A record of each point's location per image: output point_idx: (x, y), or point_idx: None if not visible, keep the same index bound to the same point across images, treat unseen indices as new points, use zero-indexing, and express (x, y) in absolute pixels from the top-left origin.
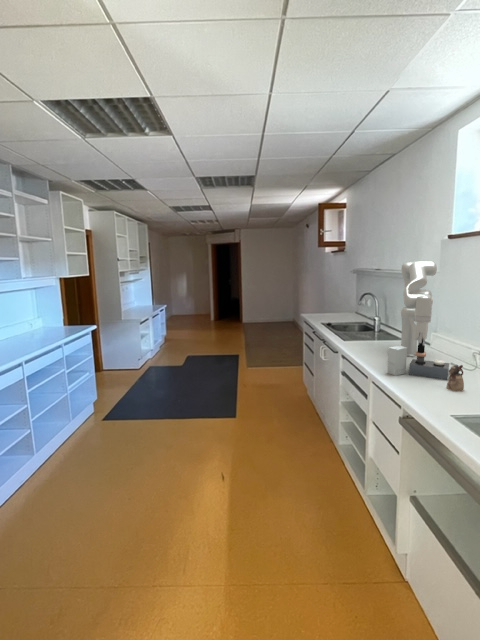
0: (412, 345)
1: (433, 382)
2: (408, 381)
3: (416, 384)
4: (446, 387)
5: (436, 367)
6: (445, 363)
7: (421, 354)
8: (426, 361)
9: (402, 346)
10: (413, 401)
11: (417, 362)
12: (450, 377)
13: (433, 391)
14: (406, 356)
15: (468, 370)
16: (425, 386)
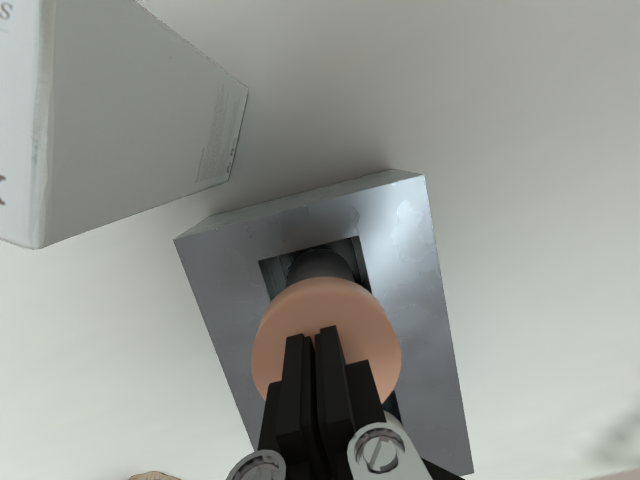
0: None
1: (176, 397)
2: (54, 279)
3: (41, 342)
4: (134, 478)
5: (255, 451)
6: (443, 455)
7: (262, 389)
8: (409, 321)
9: (22, 104)
10: None
11: (287, 281)
12: None
13: (8, 453)
14: (144, 209)
15: (599, 450)
16: (54, 394)
